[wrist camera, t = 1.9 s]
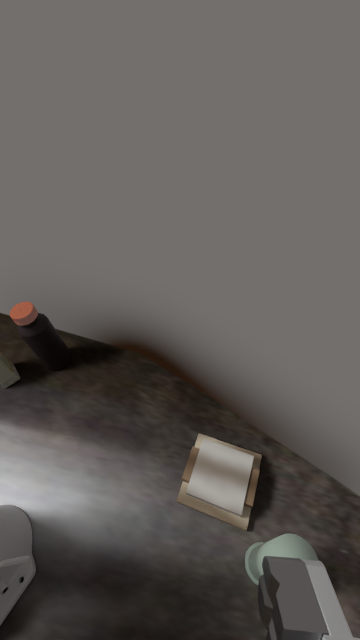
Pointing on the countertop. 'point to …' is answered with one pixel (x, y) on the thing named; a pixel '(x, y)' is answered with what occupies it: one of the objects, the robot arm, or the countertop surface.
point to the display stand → (220, 481)
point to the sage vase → (276, 553)
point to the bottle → (40, 336)
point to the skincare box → (7, 372)
